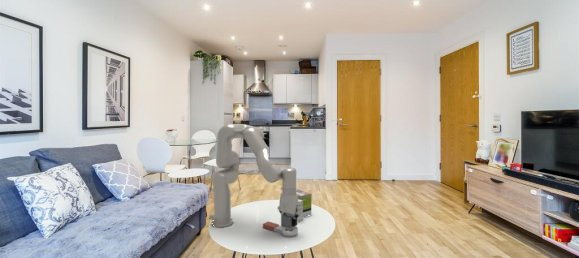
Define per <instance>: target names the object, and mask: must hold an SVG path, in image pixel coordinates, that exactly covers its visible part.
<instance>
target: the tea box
mask: <svg viewBox="0 0 579 258" xmlns="http://www.w3.org/2000/svg"><path fill="white" fill-rule="evenodd" d="M296 194H297V196H298V199H299V200H303V217H305V216H308V215H311V216H312V193H311V192H308V191H305V190H302V189H299V188H296ZM308 217H309V216H308ZM305 218H306V217H305Z"/></svg>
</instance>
